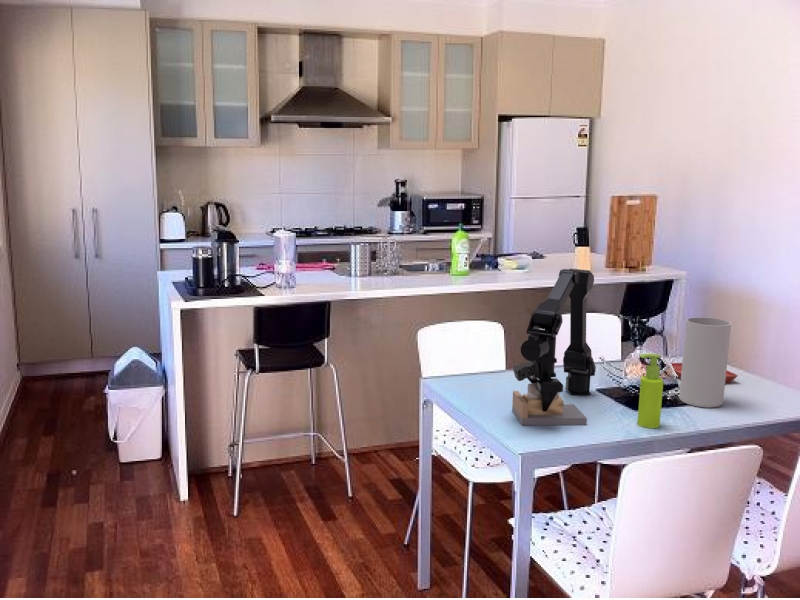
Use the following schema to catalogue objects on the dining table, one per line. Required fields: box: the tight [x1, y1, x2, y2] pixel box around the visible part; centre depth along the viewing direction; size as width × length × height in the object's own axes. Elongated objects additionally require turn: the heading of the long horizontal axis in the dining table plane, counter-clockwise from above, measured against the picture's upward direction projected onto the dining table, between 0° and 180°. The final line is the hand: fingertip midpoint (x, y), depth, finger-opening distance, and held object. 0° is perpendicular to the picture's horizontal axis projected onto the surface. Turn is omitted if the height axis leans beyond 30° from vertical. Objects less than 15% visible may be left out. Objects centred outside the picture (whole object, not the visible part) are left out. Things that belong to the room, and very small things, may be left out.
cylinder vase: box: [678, 316, 732, 409], centre depth 233 cm, size 12×12×25 cm
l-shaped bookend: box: [511, 390, 588, 426], centre depth 217 cm, size 18×12×6 cm, turn 95°
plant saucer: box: [671, 362, 738, 384], centre depth 263 cm, size 18×18×3 cm
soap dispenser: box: [637, 353, 664, 429], centre depth 212 cm, size 6×7×20 cm
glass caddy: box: [522, 382, 565, 415], centre depth 217 cm, size 10×6×8 cm, turn 95°
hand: (541, 407), depth 217 cm, fingers closed on glass caddy, 6 cm apart
